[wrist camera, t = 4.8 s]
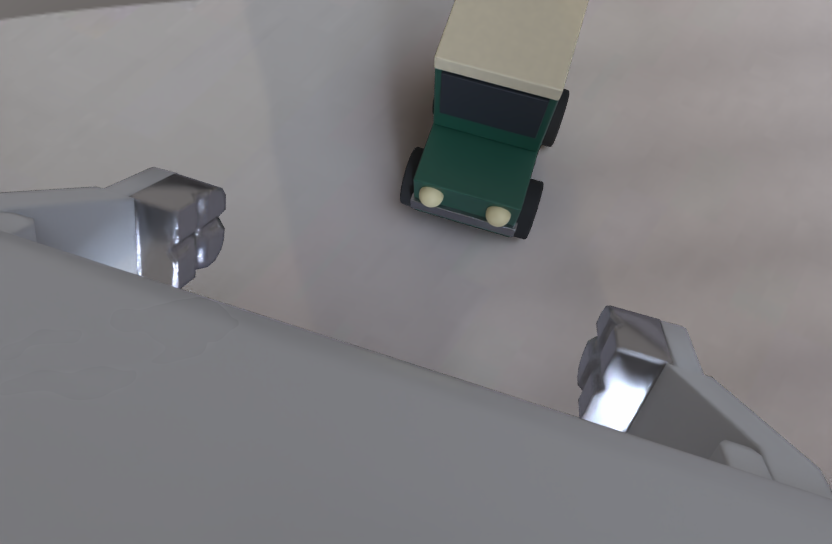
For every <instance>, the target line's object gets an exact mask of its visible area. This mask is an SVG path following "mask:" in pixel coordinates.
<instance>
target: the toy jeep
mask: <svg viewBox="0 0 832 544" xmlns="http://www.w3.org/2000/svg"><path fill="white" fill-rule="evenodd" d="M588 1H589V0H455V2H454V5H453V7H452V10H451V13H450V15H449V18H448V21H447V24H446V26H445V29H444V32H443V34H442V37H441V40H440V43H439V45H438V48H437V51H436V54H435V56H434V68H435V85H434V100H433V114H434V116H433V122H434V123H433V125H432V128H431V131H430V134H429V137H428V140H427V142H426V145H425V148H424V149H423V148H420V147H416V148H415V149H414V150H413V152H412V154H411V156H410V159H409V161H408V164H407V167H406V170H405V174H404V177H403V182H402V186H401V193H400V201H401V203H402V204H405V205H409V206H411V208H415V210H419V211H422V212H426V213H429V214H432V215H436V216H439V217H443V218H446V219H450V220H453V221H456V222H460V223H463V224H467V225H470V226H473V227H477V228H480V229H484V230H487V231H491V232H494V233H497V234H501V235H504V236H508V237H513V236H515V237H518V238H521V239H526V238H527V236H528V234H529V232H530V229H531V227H532V224H533V221H534V218H535V215H536V212H537V209H538V205H539V202H540V198H541V195H542V191H543V182H541V181H537V180H534V179H530V178H531V175H532V172H533V168H534V165H535V161H536V158H537V154H538V151H539V149H540V146H541V144H542V145H545V146H549V147H551V146H552V145H553V143H554V141H555V138H556V136H557V133H558V130H559V128H560V125H561V122H562V119H563V115H564V112H565V109H566V106H567V102H568V98H569V91H568V90H566V89H564V86H565V82H566V79H567V75H568V71H569V68H570V64H571V61H572V57H573V54H574V50H575V47H576V43H577V40H578V36H579V33H580V29H581V26H582V22H583V19H584V15H585V12H586V8H587V5H588Z"/></svg>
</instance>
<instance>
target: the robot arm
mask: <svg viewBox="0 0 832 544" xmlns="http://www.w3.org/2000/svg"><path fill="white" fill-rule="evenodd" d="M225 210H226V194H225V192H224V190H223V189H222V188H220V187H217V186H214V185H211V184H208V183H205V182H202V181H199V180H195V179H192V178H189V177H186V176H183V175H179V174H178V173H176V172H172V171H168V170H164V169H160V168H156V167H151V168H149V169H147V170H144V171H142V172H140V173H138V174H135V175H133V176H131V177H129V178H126V179H124V180H122V181H120V182H117V183H115V184H113V185H111V186H108V187H106V188H104V189H103V188H100V187H81V188H65V189H49V190H33V191H17V192H1V193H0V544H832V491H831V489H830V487H829V485H828V483H827V481H826V479H825V478H824V476H823V474H822V472H821V470H820V468H819V467H817V466H816V465H815V464H814V463H813V462H811V461H810V460H809V459H808V458H807V457H806V456H804V455H803V454H802V453H801V452H800V451H799V450H797V449H796V448H795V447H794V446H793V445H791V444H790V443H789V442H788V441H787V440H786V439H784V438H783V437H782V436H781V435H780V434H778V433H777V432H776V431H775V430H774V429H773V428H771V427H770V426H769V425H768V424H767V423H766V422H764V421H763V420H762V419H761V418H760V417H758V416H757V415H756V414H755V413H754V412H753V411H751V410H750V409H749V408H748V407H747V406H746V405H744V404H743V403H742V402H741V401H740V400H738V399H737V398H736V397H735V396H734V395H733V394H731V393H730V392H729V391H728V390H727V389H725V388H724V387H723V386H722V385H721V384H720V383H718V382H717V381H716V380H715V379H714V378H713V377H710V376H707V375H704V373H703V371H702V368H701V366H700V363H699V360H698V358H697V355H696V353H695V350H694V347H693V345H692V342H691V339H690V337H689V334H688V332H687V329H686V328H685V327H683V326H681V325H677V324H673V323H669V322H665V321H661V320H660V319H657V318H653V317H649V316H646V315H642V314H639V313H635V312H632V311H628V310H624V309H621V308H617V307H614V306H606V307H605V308H604V309H603V311H602V312H601V314H600V316H599V318H598V321H597V323H596V325H597V336H596V337H594V338H593V339H591V340H589V341H588V342H587V344H586V347H585V349H584V351H583V354H582V357H581V360H580V364H579V367H578V375H577V381H578V386H579V387H580V388H581V390H582V393H581V395H580V397H579V399H578V403H579V417H576V416H572V415H569V414H566V413H563V412H560V411H557V410H554V409H551V408H548V407H545V406H541V405H538V404H535V403H532V402H529V401H526V400H523V399H520V398H517V397H514V396H510V395H507V394H504V393H501V392H498V391H495V390H492V389H489V388H486V387H483V386H479V385H476V384H473V383H470V382H467V381H464V380H461V379H458V378H455V377H452V376H448V375H445V374H442V373H439V372H436V371H433V370H430V369H427V368H424V367H421V366H417V365H414V364H411V363H408V362H405V361H402V360H399V359H396V358H393V357H390V356H387V355H383V354H380V353H377V352H374V351H371V350H368V349H365V348H362V347H359V346H356V345H353V344H349V343H346V342H343V341H340V340H337V339H334V338H331V337H328V336H325V335H322V334H319V333H316V332H312V331H309V330H306V329H303V328H300V327H297V326H294V325H291V324H288V323H285V322H282V321H278V320H275V319H272V318H269V317H266V316H263V315H260V314H257V313H254V312H251V311H248V310H245V309H241V308H238V307H235V306H232V305H229V304H226V303H223V302H220V301H217V300H214V299H211V298H208V297H204V296H201V295H198V294H195V293H192V292H189V291H186V290H183V289H181V288H182V287H184V286H185V285H186V284H187V283H189V282H190V281H191V280H192V279H194V278H195V274H196V270H197V269H201V268H206V267H208V266H209V265H211V264H212V263H213V262H214V261H215V260H216V258H217V256H218V255H219V253H220V251H221V249H222V245H223V241H224V231H225V228H224V226H223V224H222V223H221V221H220V219H219V216H220V215H221V214H222V213H223V212H224V211H225Z"/></svg>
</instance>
